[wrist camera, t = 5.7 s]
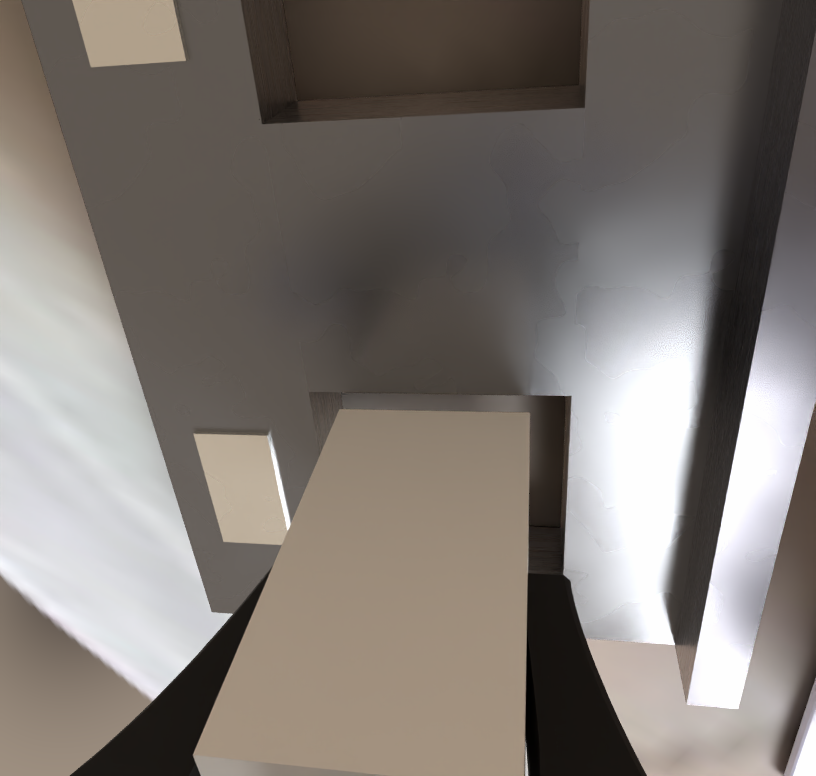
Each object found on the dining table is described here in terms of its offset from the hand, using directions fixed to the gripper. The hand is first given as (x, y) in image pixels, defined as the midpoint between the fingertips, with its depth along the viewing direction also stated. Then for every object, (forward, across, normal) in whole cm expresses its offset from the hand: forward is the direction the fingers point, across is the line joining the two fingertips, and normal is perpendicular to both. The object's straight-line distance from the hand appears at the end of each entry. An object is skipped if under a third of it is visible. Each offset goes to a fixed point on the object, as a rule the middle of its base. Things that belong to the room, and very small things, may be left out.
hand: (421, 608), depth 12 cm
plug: (+3, 0, 0) cm, 3 cm away
